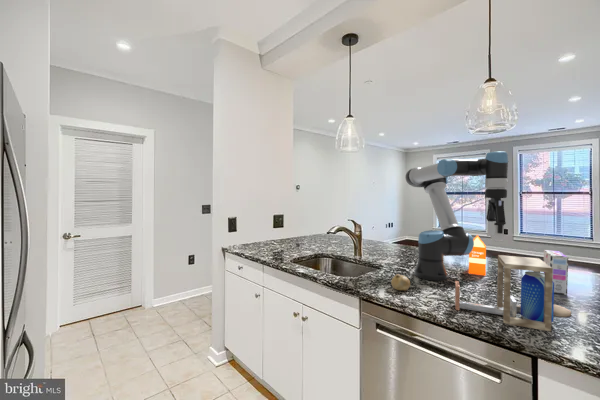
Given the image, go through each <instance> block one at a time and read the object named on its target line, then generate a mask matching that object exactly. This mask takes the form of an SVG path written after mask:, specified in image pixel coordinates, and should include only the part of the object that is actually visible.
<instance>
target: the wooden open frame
mask: <svg viewBox="0 0 600 400" xmlns="http://www.w3.org/2000/svg"><path fill="white" fill-rule="evenodd" d="M511 270H521V271H533V272H541V273H544V272H545V283H544V322H540V321H534V320H527V319H523V318H521V317H520V318H519V317H516V318H515V317H511V316H510V296H511V275H512V274H511ZM552 276H553V268H552V267H550V266H549V265H548V264H546V263H545V262H544V260H542V259H541V258H539V257H528V256H527V257H525V256H515V255H504V254H497V282H496V283H497V287H496V291H497V294H496V296H497V297H496V307H502V308H504V309H503V315H502V317H503V319H502V322H503V324H506V325H512V326H518V327H524V328H528V329H535V330H540V331H547V332H552V323H551V317H552ZM516 313H520V314H521V305H519V304H517V312H516Z"/></svg>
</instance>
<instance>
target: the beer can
mask: <svg viewBox="0 0 600 400" xmlns="http://www.w3.org/2000/svg"><path fill="white" fill-rule="evenodd" d="M520 279H521V281H520V283H521V285H520V306H521V313H520V315H521V316H522V319H527V320H534V321H540V322H544V283H545V273H544V272H533V271H528V270H526V271H525V272H524V274H523V275H522V277H521V278H520ZM554 299H555V293H554V282H553V281H552V317H551V324H552V323H554V316H553V311H554V301H555V300H554Z"/></svg>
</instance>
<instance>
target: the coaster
mask: <svg viewBox="0 0 600 400" xmlns="http://www.w3.org/2000/svg"><path fill="white" fill-rule="evenodd" d="M571 316H572V311H571V310H569V309H568V308H566V307H564V306H561V305H558V304H554V311H553V317H560V318H568V317H571Z"/></svg>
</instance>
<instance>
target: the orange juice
mask: <svg viewBox="0 0 600 400" xmlns="http://www.w3.org/2000/svg"><path fill="white" fill-rule="evenodd" d="M473 240H474V246H473V250H472V251H471V253H469V254H468V274H469V275H470V274H471V275H477V276H479V275H480V276H486V273H487V270H486V269H487V267H486V266H487V246H486V244H485V243H484V241H483V240H482V239H481V238H480V236H479V234H477V235H476V236H475V237H473Z"/></svg>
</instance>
